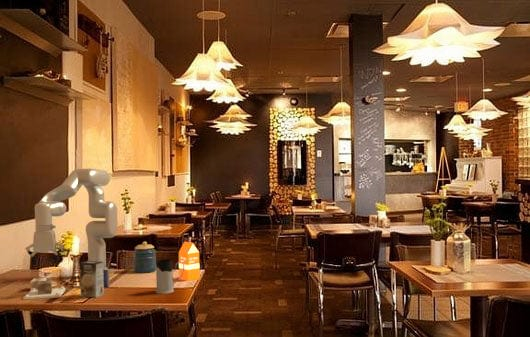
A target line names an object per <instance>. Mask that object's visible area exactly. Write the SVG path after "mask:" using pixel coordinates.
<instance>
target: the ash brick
mask: <svg viewBox="0 0 530 337" xmlns="http://www.w3.org/2000/svg"><path fill="white" fill-rule="evenodd" d="M46 280H47V277H39V278H38V277H37V278H35V277H34V278H33V279H32V280H31V281H30V282H29V284H30V287H29V288H30V291H31V290H32V289H35V290H38V287H37V284H38V282H39V281H46Z"/></svg>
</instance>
